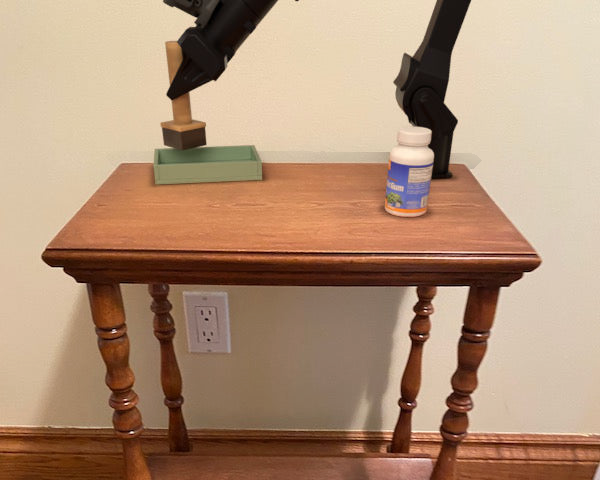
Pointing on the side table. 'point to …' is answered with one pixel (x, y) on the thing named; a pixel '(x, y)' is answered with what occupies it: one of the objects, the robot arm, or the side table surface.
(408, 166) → the pill bottle
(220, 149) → the tray
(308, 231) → the side table surface
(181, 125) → the scrub brush
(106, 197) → the side table surface
